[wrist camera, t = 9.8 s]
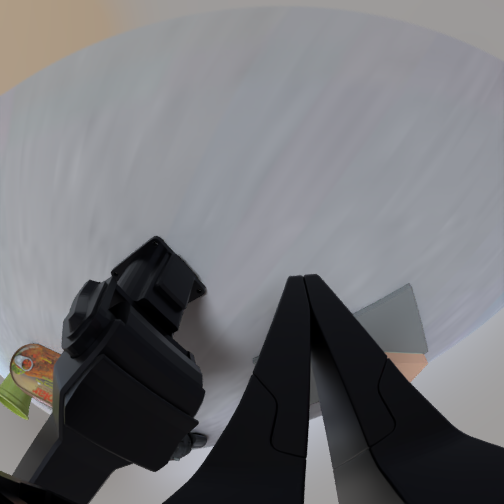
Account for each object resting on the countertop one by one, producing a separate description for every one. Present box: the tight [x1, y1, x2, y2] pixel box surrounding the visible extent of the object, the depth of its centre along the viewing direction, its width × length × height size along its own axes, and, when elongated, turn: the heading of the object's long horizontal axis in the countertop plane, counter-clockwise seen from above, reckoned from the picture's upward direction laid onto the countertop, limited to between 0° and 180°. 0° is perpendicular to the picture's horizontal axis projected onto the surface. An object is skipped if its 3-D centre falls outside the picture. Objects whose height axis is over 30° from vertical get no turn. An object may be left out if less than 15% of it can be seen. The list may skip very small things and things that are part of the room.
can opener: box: [169, 434, 207, 461], centre depth 42 cm, size 18×7×6 cm, turn 147°
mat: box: [253, 283, 428, 405], centre depth 29 cm, size 18×13×1 cm
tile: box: [385, 352, 428, 382], centre depth 29 cm, size 2×7×9 cm
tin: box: [10, 344, 61, 408], centre depth 29 cm, size 15×3×8 cm, turn 74°
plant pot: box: [0, 373, 32, 420], centre depth 35 cm, size 9×9×9 cm
